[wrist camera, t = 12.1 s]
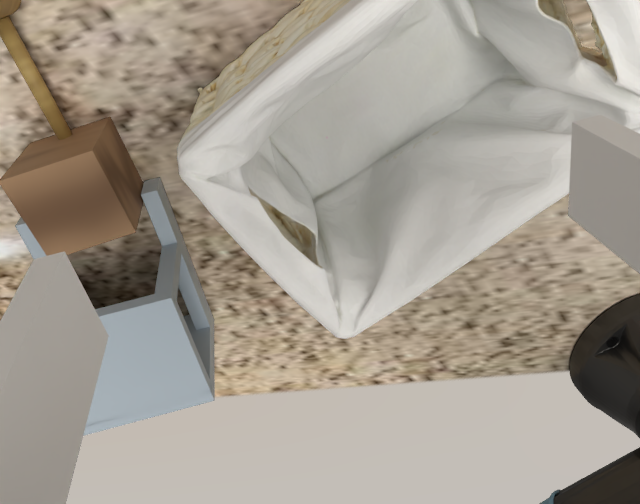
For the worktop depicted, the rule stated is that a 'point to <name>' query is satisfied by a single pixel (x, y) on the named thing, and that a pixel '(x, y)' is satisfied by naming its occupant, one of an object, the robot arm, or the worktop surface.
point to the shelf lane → (152, 334)
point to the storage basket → (400, 139)
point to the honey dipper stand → (69, 171)
